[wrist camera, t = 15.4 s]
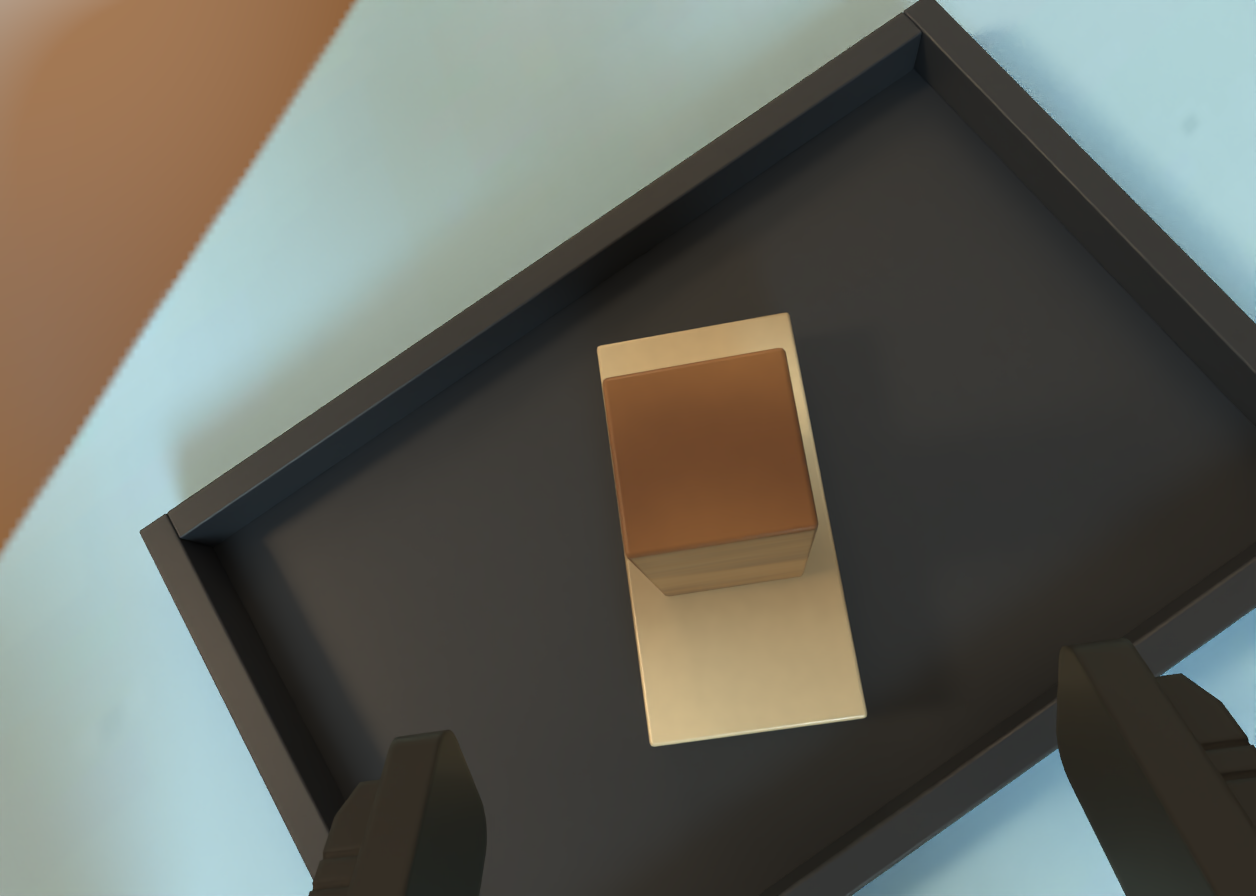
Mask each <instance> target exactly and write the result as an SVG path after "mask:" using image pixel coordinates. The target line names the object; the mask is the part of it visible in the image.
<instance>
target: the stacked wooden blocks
mask: <svg viewBox="0 0 1256 896" xmlns="http://www.w3.org/2000/svg"><path fill="white" fill-rule="evenodd" d="M597 354H598V362H599V369H600V377H601V384H602V392H603V399H604V407H605V414H606V422H607V429H608V436H609V444H610V451H611V459H612V466H613V474H614V481H615V489H616V496H617V504H618V511H619V519H620V526H621V534H622V541H623V548H624V556H625V563H626V571H627V578H628V586H629V593H630V601H631V608H632V616H633V623H634V631H635V638H636V646H637V653H638V661H639V668H640V675H641V683H642V690H643V698H644V705H645V713H646V720H647V728H648V735H649V743H650V744H651V746H654V747H657V746H664V745H671V744H679V743H686V742H694V741H701V740H708V739H716V738H723V737H731V736H738V735H745V734H753V733H760V732H768V731H775V730H782V729H790V728H797V727H804V726H812V725H819V724H827V723H834V722H841V721H849V720H856V719H864V718H865V717H867V709H866V704H865V699H864V694H863V688H862V683H861V678H860V673H859V668H858V663H857V658H856V653H855V647H854V642H853V637H852V632H851V627H850V622H849V617H848V611H847V606H846V601H845V596H844V591H843V586H842V581H841V576H840V570H839V565H838V560H837V555H836V550H835V545H834V540H833V535H832V529H831V524H830V519H829V514H828V509H827V504H826V499H825V493H824V488H823V483H822V478H821V473H820V468H819V463H818V458H817V452H816V447H815V442H814V437H813V432H812V427H811V422H810V417H809V411H808V406H807V401H806V396H805V391H804V386H803V381H802V376H801V370H800V365H799V360H798V355H797V350H796V345H795V340H794V334H793V329H792V324H791V319H790V315H789V314H788V313H780V314H774V315H769V316H763V317H758V318H752V319H746V320H741V321H735V322H730V323H724V324H718V325H713V326H707V327H702V328H696V329H691V330H685V331H679V332H674V333H668V334H663V335H657V336H652V337H646V338H640V339H635V340H629V341H624V342H618V343H612V344H607V345H601V346H599V347H598V348H597Z"/></svg>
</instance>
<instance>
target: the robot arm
mask: <svg viewBox="0 0 1256 896" xmlns="http://www.w3.org/2000/svg"><path fill="white" fill-rule="evenodd" d="M1056 735H1057V743H1058V748H1059V753H1060V757H1061V760H1062V764H1063V767H1064V770H1065V772H1066V775H1067V777H1068V779H1069V782H1070V784H1071V786H1072V788H1073V790H1074V792H1075V794H1076V796H1077V798H1078V800H1079V802H1080V804H1081V806H1082V808H1083V810H1084V812H1085V814H1086V816H1087V818H1088V820H1089V822H1090V824H1091V826H1092V828H1093V830H1094V832H1095V834H1096V836H1097V838H1098V840H1099V842H1100V844H1101V846H1102V848H1103V850H1104V852H1105V854H1106V856H1107V858H1108V860H1109V863H1110V865H1111V867H1112V869H1113V871H1114V873H1115V875H1116V877H1117V879H1118V881H1119V883H1120V885H1121V887H1122V889H1123V891H1124V893H1125V895H1126V896H1256V748H1255V747H1254V745H1250V744H1249V742H1248V737H1247V736H1246V734H1245V733H1244V732H1243V730H1242V729H1241V728H1240V726H1239V725H1238V724H1237V722H1236V721H1235V719H1234V718H1233V717H1232V715H1231V714H1230V713H1229V711H1228V710H1227V709H1226V707H1225V706H1224V704H1223V703H1222V702H1221V701H1220V700H1218V699H1217V698H1215V697H1214V696H1212V695H1211V694H1210V693H1208V692H1207V691H1205V690H1204V689H1203V688H1201V687H1200V686H1198V685H1197V684H1196V683H1194V682H1193V681H1191V680H1190V679H1188V678H1187V677H1186V676H1184V675H1183V674H1173V675H1166V676H1159V677H1155V676H1154V674H1153V673H1152V672H1151V670H1150V669H1149V667H1148V666H1147V664H1146V663H1145V661H1144V660H1143V658H1142V657H1141V655H1140V654H1139V652H1138V651H1137V649H1136V648H1135V646H1134V645H1133V644H1132V643H1131V642H1130V641H1129V640H1128V639H1126V638H1116V639H1109V640H1102V641H1095V642H1088V643H1080V644H1073V645H1066V646H1063V647H1062V648H1061V650H1060V653H1059V667H1058V692H1057V718H1056ZM486 848H487V825H486V817H485V811H484V807H483V803H482V800H481V798H480V795H479V793H478V790H477V788H476V785H475V783H474V780H473V778H472V775H471V773H470V770H469V768H468V766H467V763H466V761H465V758H464V756H463V753H462V751H461V748H460V746H459V743H458V741H457V738H456V736H455V735H454V733H453V732H452V731H451V730H442V731H435V732H428V733H420V734H413V735H406V736H399V737H396V738H394V740H393V741H392V743H391V744H390V747H389V750H388V753H387V757H386V760H385V764H384V767H383V771H382V774H381V778H380V779H379V780H372V781H364V782H360V783H359V784H358V785H357V787H356V788H355V789H354V791H353V792H352V793H351V795H350V796H349V797H348V799H347V800H346V801H345V803H344V804H343V806H342V807H341V808H340V810H339V811H338V812H337V814H336V815H335V816H334V819H333V822H332V826H331V829H330V832H329V835H328V838H327V841H326V844H325V847H324V850H323V853H322V854H323V860H321V861H320V862H319V865H318V868H317V871H316V874H315V877H314V880H313V883H312V884H313V891H310V893H309V896H479V894H480V888H481V882H482V875H483V869H484V862H485V856H486Z"/></svg>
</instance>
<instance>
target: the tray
mask: <svg viewBox="0 0 1256 896" xmlns="http://www.w3.org/2000/svg"><path fill="white" fill-rule="evenodd" d="M780 313H788V314H789V315H790V319H791V324H792V329H793V334H794V340H795V345H796V350H797V355H798V360H799V365H800V370H801V376H802V381H803V386H804V391H805V396H806V401H807V406H808V411H809V417H810V422H811V427H812V432H813V437H814V442H815V447H816V452H817V458H818V463H819V468H820V473H821V478H822V483H823V488H824V493H825V499H826V504H827V509H828V514H829V519H830V524H831V529H832V535H833V540H834V545H835V550H836V555H837V560H838V565H839V570H840V576H841V581H842V586H843V591H844V596H845V601H846V606H847V611H848V617H849V622H850V627H851V632H852V637H853V642H854V647H855V653H856V658H857V663H858V668H859V673H860V678H861V683H862V688H863V694H864V699H865V704H866V709H867V717H865V718H864V719H856V720H849V721H841V722H834V723H827V724H819V725H812V726H804V727H797V728H790V729H782V730H775V731H768V732H760V733H753V734H745V735H738V736H731V737H723V738H716V739H708V740H701V741H694V742H686V743H679V744H671V745H664V746H657V747H654V746H651V744H650V743H649V735H648V728H647V720H646V713H645V705H644V698H643V690H642V683H641V675H640V668H639V661H638V653H637V646H636V638H635V631H634V623H633V616H632V608H631V601H630V593H629V586H628V578H627V571H626V563H625V556H624V548H623V541H622V534H621V526H620V519H619V511H618V504H617V496H616V489H615V481H614V474H613V466H612V459H611V451H610V444H609V436H608V429H607V422H606V414H605V407H604V399H603V392H602V384H601V377H600V369H599V362H598V354H597V348H598V347H599V346H601V345H607V344H612V343H618V342H624V341H629V340H635V339H640V338H646V337H652V336H657V335H663V334H668V333H674V332H679V331H685V330H691V329H696V328H702V327H707V326H713V325H718V324H724V323H730V322H735V321H741V320H746V319H752V318H758V317H763V316H769V315H774V314H780ZM140 534H141V536H142V538H143V540H144V542H145V544H146V546H147V548H148V550H149V552H150V554H151V556H152V558H153V560H154V562H155V564H156V566H157V568H158V570H159V572H160V574H161V576H162V578H163V580H164V582H165V584H166V586H167V588H168V590H169V592H170V594H171V596H172V598H173V600H174V602H175V604H176V606H177V608H178V610H179V612H180V614H181V616H182V618H183V620H184V622H185V624H186V626H187V628H188V630H189V632H190V634H191V636H192V638H193V640H194V642H195V644H196V646H197V648H198V650H199V652H200V654H201V656H202V658H203V660H204V662H205V664H206V666H207V668H208V670H209V672H210V674H211V676H212V678H213V680H214V682H215V684H216V686H217V688H218V690H219V692H220V694H221V696H222V698H223V700H224V702H225V704H226V706H227V708H228V710H229V712H230V714H231V716H232V718H233V720H234V722H235V724H236V726H237V728H238V730H239V732H240V734H241V736H242V738H243V740H244V742H245V744H246V746H247V748H248V750H249V752H250V754H251V756H252V758H253V760H254V762H255V764H256V766H257V768H258V770H259V772H260V774H261V776H262V778H263V780H264V783H265V785H266V787H267V789H268V791H269V793H270V795H271V797H272V799H273V801H274V803H275V805H276V807H277V809H278V811H279V813H280V815H281V817H282V819H283V821H284V823H285V825H286V827H287V829H288V831H289V833H290V835H291V837H292V839H293V841H294V843H295V845H296V847H297V849H298V851H299V853H300V855H301V857H302V859H303V861H304V863H305V865H306V867H307V869H308V871H309V873H310V875H311V877H312V879H313V880H314V877H315V874H316V871H317V868H318V865H319V862H320V861H321V860H323V854H322V853H323V850H324V847H325V844H326V841H327V838H328V835H329V832H330V829H331V826H332V822H333V819H334V816H335V815H336V814H337V812H338V811H339V810H340V808H341V807H342V806H343V804H344V803H345V801H346V800H347V799H348V797H349V796H350V795H351V793H352V792H353V791H354V789H355V788H356V787H357V785H358V784H359V783H360V782H364V781H372V780H379V779H380V778H381V774H382V771H383V767H384V764H385V760H386V757H387V753H388V750H389V747H390V744H391V743H392V741H393V740H394V738H396V737H399V736H406V735H413V734H420V733H428V732H435V731H442V730H451V731H452V732H453V733H454V735H455V736H456V738H457V741H458V743H459V746H460V748H461V751H462V753H463V756H464V758H465V761H466V763H467V766H468V768H469V770H470V773H471V775H472V778H473V780H474V783H475V785H476V788H477V790H478V793H479V795H480V798H481V800H482V803H483V807H484V811H485V817H486V825H487V848H486V856H485V862H484V869H483V875H482V882H481V888H480V894H479V896H852V895H853V894H854V893H856V892H857V891H859V890H860V889H861V888H863V887H864V886H866V885H867V884H868V883H870V882H871V881H873V880H874V879H875V878H877V877H878V876H880V875H881V874H882V873H884V872H885V871H887V870H888V869H889V868H891V867H892V866H894V865H895V864H896V863H898V862H899V861H901V860H902V859H903V858H905V857H906V856H908V855H909V854H910V853H912V852H913V851H915V850H916V849H918V848H919V847H920V846H922V845H923V844H925V843H926V842H927V841H929V840H930V839H932V838H933V837H934V836H936V835H937V834H939V833H940V832H941V831H943V830H944V829H946V828H947V827H948V826H950V825H951V824H953V823H954V822H955V821H957V820H958V819H960V818H961V817H962V816H964V815H965V814H967V813H968V812H969V811H971V810H972V809H974V808H975V807H976V806H978V805H979V804H981V803H982V802H983V801H985V800H986V799H988V798H989V797H991V796H992V795H993V794H995V793H996V792H998V791H999V790H1000V789H1002V788H1003V787H1005V786H1006V785H1007V784H1009V783H1010V782H1012V781H1013V780H1014V779H1016V778H1017V777H1019V776H1020V775H1021V774H1023V773H1024V772H1026V771H1027V770H1028V769H1030V768H1031V767H1033V766H1034V765H1035V764H1037V763H1038V762H1040V761H1041V760H1042V759H1044V758H1045V757H1047V756H1048V755H1049V754H1051V753H1052V752H1054V751H1055V750H1056V749H1058V743H1057V735H1056V718H1057V692H1058V667H1059V653H1060V650H1061V648H1062V647H1063V646H1066V645H1073V644H1080V643H1088V642H1095V641H1102V640H1109V639H1116V638H1126V639H1128V640H1129V641H1130V642H1131V643H1132V644H1133V645H1134V646H1135V648H1136V649H1137V651H1138V652H1139V654H1140V655H1141V657H1142V658H1143V660H1144V661H1145V663H1146V664H1147V666H1148V667H1149V669H1150V670H1151V672H1152V673H1153V674H1154V676H1155V677H1159V676H1160V675H1162V674H1163V673H1165V672H1166V671H1167V670H1169V669H1170V668H1172V667H1173V666H1174V665H1176V664H1177V663H1179V662H1180V661H1181V660H1183V659H1184V658H1186V657H1187V656H1188V655H1190V654H1191V653H1193V652H1194V651H1195V650H1197V649H1198V648H1200V647H1201V646H1202V645H1204V644H1205V643H1207V642H1208V641H1209V640H1211V639H1212V638H1214V637H1215V636H1216V635H1218V634H1219V633H1221V632H1222V631H1224V630H1225V629H1226V628H1228V627H1229V626H1231V625H1232V624H1233V623H1235V622H1236V621H1238V620H1239V619H1240V618H1242V617H1243V616H1245V615H1246V614H1247V613H1249V612H1250V611H1252V610H1253V609H1254V608H1256V324H1255V323H1254V322H1253V321H1252V320H1251V319H1250V318H1249V317H1248V316H1247V315H1246V314H1245V313H1244V312H1243V311H1242V310H1241V309H1240V308H1239V307H1238V306H1237V305H1236V303H1235V302H1234V301H1233V300H1232V299H1231V298H1230V297H1229V296H1228V295H1227V294H1226V293H1225V292H1224V291H1223V290H1222V289H1221V288H1220V287H1219V286H1218V285H1217V284H1216V283H1215V282H1214V281H1213V280H1212V279H1211V278H1210V277H1209V276H1208V275H1207V274H1206V273H1205V272H1204V271H1203V270H1202V269H1201V268H1200V267H1199V266H1198V265H1197V264H1196V263H1195V262H1194V261H1193V260H1192V259H1191V258H1190V257H1189V256H1188V255H1187V254H1186V253H1185V252H1184V251H1183V250H1182V249H1181V248H1180V247H1179V246H1178V245H1177V244H1176V243H1175V242H1174V241H1173V240H1172V239H1171V238H1170V237H1169V236H1168V235H1167V234H1166V233H1165V232H1164V231H1163V230H1162V229H1161V228H1160V227H1159V226H1158V225H1157V224H1156V223H1155V222H1154V221H1153V220H1152V219H1151V218H1150V217H1149V216H1148V215H1147V214H1146V213H1145V212H1144V211H1143V210H1142V209H1141V208H1140V207H1139V206H1138V205H1137V204H1136V203H1135V202H1134V201H1133V200H1132V198H1131V197H1130V196H1129V195H1128V194H1127V193H1126V192H1125V191H1124V190H1123V189H1122V188H1121V187H1120V186H1119V185H1118V184H1117V183H1116V182H1115V181H1114V180H1113V179H1112V178H1111V177H1110V176H1109V175H1108V174H1107V173H1106V172H1105V171H1104V170H1103V169H1102V168H1101V167H1100V166H1099V165H1098V164H1097V163H1096V162H1095V161H1094V160H1093V159H1092V158H1091V157H1090V156H1089V155H1088V154H1087V153H1086V152H1085V151H1084V150H1083V149H1082V148H1081V147H1080V146H1079V145H1078V144H1077V143H1076V142H1075V141H1074V140H1073V139H1072V138H1071V137H1070V136H1069V135H1068V134H1067V133H1066V132H1065V131H1064V130H1063V129H1062V128H1061V127H1060V126H1059V125H1058V124H1057V123H1056V122H1055V121H1054V120H1053V119H1052V118H1051V117H1050V116H1049V115H1048V114H1047V113H1046V112H1045V111H1044V110H1043V109H1042V108H1041V107H1040V106H1039V105H1038V104H1037V103H1036V102H1035V101H1034V100H1033V99H1032V98H1031V97H1030V96H1029V95H1028V94H1027V92H1026V91H1025V90H1024V89H1023V88H1022V87H1021V86H1020V85H1019V84H1018V83H1017V82H1016V81H1015V80H1014V79H1013V78H1012V77H1011V76H1010V75H1009V74H1008V73H1007V72H1006V71H1005V70H1004V69H1003V68H1002V67H1001V66H1000V65H999V64H998V63H997V62H996V61H995V60H994V59H993V58H992V57H991V56H990V55H989V54H988V53H987V52H986V51H985V50H984V49H983V48H982V47H981V46H980V45H979V44H978V43H977V42H976V41H975V40H974V39H973V38H972V37H971V36H970V35H969V34H968V33H967V32H966V31H965V30H964V29H963V28H962V27H961V26H960V25H959V24H958V23H957V22H956V21H955V20H954V19H953V18H952V17H951V16H950V15H949V14H948V13H947V12H946V11H945V10H944V9H943V8H942V7H941V6H940V5H939V4H938V3H937V2H936V1H935V0H919V1H918V2H916V3H915V4H913V5H912V6H910V7H909V8H907V9H906V10H905V11H904V13H903V12H902V13H900V14H899V15H897V16H896V17H894V18H893V19H891V20H890V21H888V22H887V23H885V24H884V25H882V26H881V27H880V28H878V29H877V30H875V31H874V32H872V33H871V34H869V35H868V36H866V37H865V38H863V39H862V40H860V41H859V42H858V43H856V44H855V45H853V46H852V47H850V48H849V49H847V50H846V51H844V52H843V53H841V54H840V55H838V56H837V57H835V58H834V59H833V60H831V61H830V62H828V63H827V64H825V65H824V66H822V67H821V68H819V69H818V70H816V71H815V72H813V73H812V74H811V75H809V76H808V77H806V78H805V79H803V80H802V81H800V82H799V83H797V84H796V85H794V86H793V87H791V88H790V89H788V90H787V91H786V92H784V93H783V94H781V95H780V96H778V97H777V98H775V99H774V100H772V101H771V102H769V103H768V104H766V105H765V106H764V107H762V108H761V109H759V110H758V111H756V112H755V113H753V114H752V115H750V116H749V117H747V118H746V119H744V120H743V121H741V122H740V123H739V124H737V125H736V126H734V127H733V128H731V129H730V130H728V131H727V132H725V133H724V134H722V135H721V136H719V137H718V138H717V139H715V140H714V141H712V142H711V143H709V144H708V145H706V146H705V147H703V148H702V149H700V150H699V151H697V152H696V153H694V154H693V155H692V156H690V157H689V158H687V159H686V160H684V161H683V162H681V163H680V164H678V165H677V166H675V167H674V168H672V169H671V170H670V171H668V172H667V173H665V174H664V175H662V176H661V177H659V178H658V179H656V180H655V181H653V182H652V183H650V184H649V185H648V186H646V187H645V188H643V189H642V190H640V191H639V192H637V193H636V194H634V195H633V196H631V197H630V198H628V199H627V200H625V201H624V202H623V203H621V204H620V205H618V206H617V207H615V208H614V209H612V210H611V211H609V212H608V213H606V214H605V215H603V216H602V217H601V218H599V219H598V220H596V221H595V222H593V223H592V224H590V225H589V226H587V227H586V228H584V229H583V230H581V231H580V232H578V233H577V234H576V235H574V236H573V237H571V238H570V239H568V240H567V241H565V242H564V243H562V244H561V245H559V246H558V247H556V248H555V249H554V250H552V251H551V252H549V253H548V254H546V255H545V256H543V257H542V258H540V259H539V260H537V261H536V262H534V263H533V264H531V265H530V266H529V267H527V268H526V269H524V270H523V271H521V272H520V273H518V274H517V275H515V276H514V277H512V278H511V279H509V280H508V281H507V282H505V283H504V284H502V285H501V286H499V287H498V288H496V289H495V290H493V291H492V292H490V293H489V294H487V295H486V296H484V297H483V298H482V299H480V300H479V301H477V302H476V303H474V304H473V305H471V306H470V307H468V308H467V309H465V310H464V311H462V312H461V313H460V314H458V315H457V316H455V317H454V318H452V319H451V320H449V321H448V322H446V323H445V324H443V325H442V326H440V327H439V328H437V329H436V330H435V331H433V332H432V333H430V334H429V335H427V336H426V337H424V338H423V339H421V340H420V341H418V342H417V343H415V344H414V345H413V346H411V347H410V348H408V349H407V350H405V351H404V352H402V353H401V354H399V355H398V356H396V357H395V358H393V359H392V360H391V361H389V362H388V363H386V364H385V365H383V366H382V367H380V368H379V369H377V370H376V371H374V372H373V373H371V374H370V375H368V376H367V377H366V378H364V379H363V380H361V381H360V382H358V383H357V384H355V385H354V386H352V387H351V388H349V389H348V390H346V391H345V392H344V393H342V394H341V395H339V396H338V397H336V398H335V399H333V400H332V401H330V402H329V403H327V404H326V405H324V406H323V407H321V408H320V409H319V410H317V411H316V412H314V413H313V414H311V415H310V416H308V417H307V418H305V419H304V420H302V421H301V422H299V423H298V424H297V425H295V426H294V427H292V428H291V429H289V430H288V431H286V432H285V433H283V434H282V435H280V436H279V437H277V438H276V439H274V440H273V441H272V442H270V443H269V444H267V445H266V446H264V447H263V448H261V449H260V450H258V451H257V452H255V453H254V454H252V455H251V456H250V457H248V458H247V459H245V460H244V461H242V462H241V463H239V464H238V465H236V466H235V467H233V468H232V469H230V470H229V471H227V472H226V473H225V474H223V475H222V476H220V477H219V478H217V479H216V480H214V481H213V482H211V483H210V484H208V485H207V486H205V487H204V488H203V489H201V490H200V491H198V492H197V493H195V494H194V495H192V496H191V497H189V498H188V499H186V500H185V501H183V502H182V503H180V504H179V505H178V506H176V507H175V508H173V509H172V510H170V511H169V512H168V514H164V515H163V516H161V517H160V518H158V519H157V520H155V521H154V522H152V523H151V524H149V525H148V526H146V527H145V528H143V529H142V530H141V531H140Z"/></svg>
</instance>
